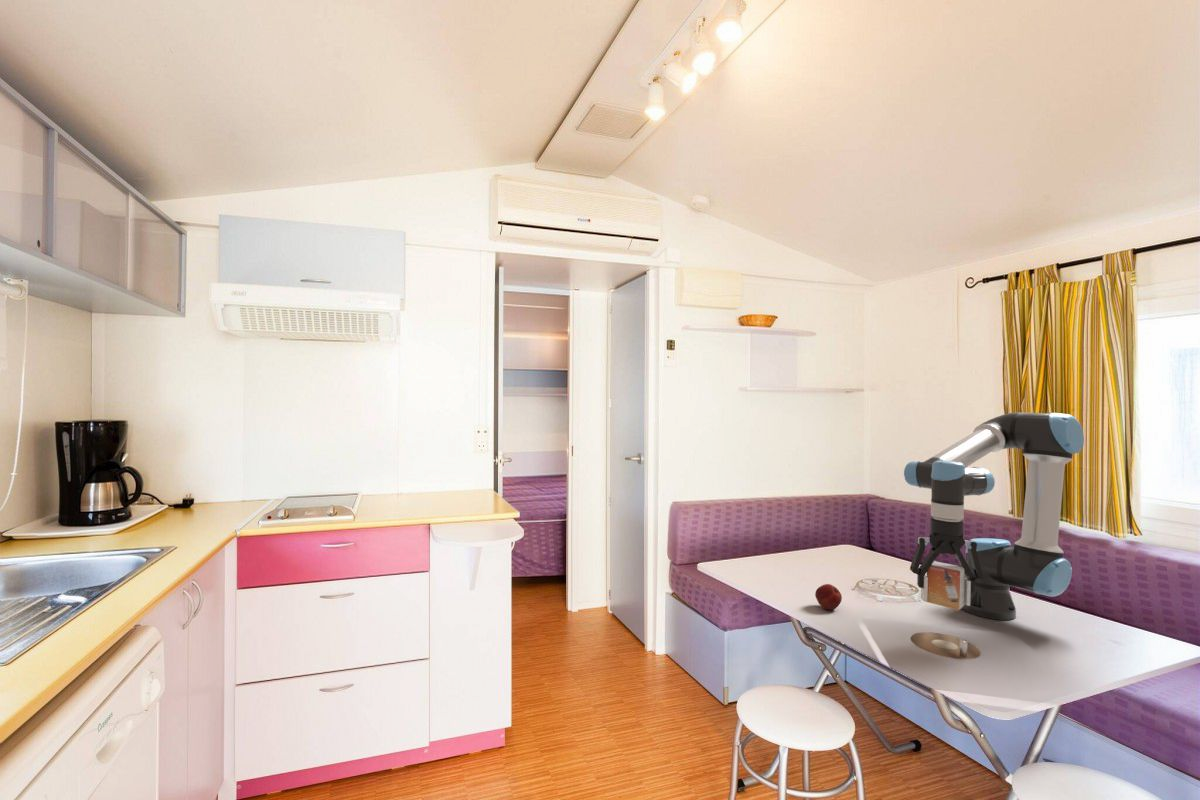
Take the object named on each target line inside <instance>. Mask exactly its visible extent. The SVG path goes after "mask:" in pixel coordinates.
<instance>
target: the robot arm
mask: <svg viewBox="0 0 1200 800" xmlns="http://www.w3.org/2000/svg"><path fill="white" fill-rule="evenodd" d="M1084 443H1085V434H1084V431H1083V428H1082V425H1081V423H1080V421H1079V420H1078V419H1077V418H1076V417H1075V416H1073V415H1071V414H1068V413H1058V412H1022V411H1020V412H1018V411H1015V412H1010V413H1006V414H1005V413H1004V414H1001V415H999V416H996V417H993V418H991V419H988V420H987V421H984V422H982V423H980V424H979V425H977V426H976V427H974V429H973V431H972V433H970V434H969V435H967V436H965V437H964V438H962V439H959V441H956V442H955V443H953V444H952V445H950V446H948V447H946V448H945V449H943V450H942V451H940V452H939V453H936V454H935V455H933V456H932V457H930V458H928V459H926V460H924V461H918V460H917V461H914V460H913V461H910V462H908V463H907V464H906V465H905V467H904V469H903V477H904V480H905V482H906V483H907V484H908V485H909V486H913V487H919V488H921V489H922V488H923V489H931V497H930V498H931V499H930V516H931V518H930V528H929V529H930V531H929V532H930V533H929V536H927V537H923V536H921V535H920V536H917V537H916V547H915V551H914V554H913V556H912V560H911V563H910V566H909V570H910V572H912V573H913V574H915V575H917V576H916V577H917V583H916V585H917V587H919V588H920V599H921V600H922V601H923V602H925V603H928V602H927V590H928V577H927V571H928V569H929V568H930V566H931V565H932V563H933V562H934V561H936V558H937V557H939V556H940V555H941V554H943V555H946V554H948V555H952V556H953V555H954V556H955V559H956V560H957V561H958V564H959V566H962V567H963V568H964V569H965V598H964V606H963V607H962V608H961V609H960V610H962V611H964V612H966V613H970V614H972V615H975V616H978V617H982V618H987V619H991V620H992V619H993V620H999V621H1000V620H1002V621H1003V620H1007V621H1010V620H1013V619H1016V617H1017V608H1016V605H1015V602H1014V600H1013V596H1012V594H1011V592H1010V591H1011V590H1010V587H1015V588H1017V589H1021V590H1025V591H1029V592H1031V593H1032V592H1033V593H1034V594H1036V595H1043V596H1047V597H1057V596H1060V595H1062V594H1063V593H1064V592H1065V591H1066V590H1067V589H1068V587H1069V584H1070V583H1071V579H1072V575H1073V568H1072V564H1071V562H1070V561H1069V560H1067V559H1066V558H1064V554H1065V553H1064V550H1062V548H1061V547H1060V546H1059V534H1060V533H1059V532H1060V523H1061V522H1060V521H1061V510H1062V500H1063V487H1064V479H1065V467H1066V464H1068V463H1070V462H1071V461H1073V454H1074V455H1075V454H1079V453H1080V452H1081V451H1082V450H1083V447H1084ZM1005 449H1006V450H1007V449H1016V450H1017V449H1018V450H1023V453H1022V456H1024V457H1025V459H1027V460H1028V463H1027V464H1028V465H1027V474H1026V475H1027V476H1026V484H1025V497H1024V504H1023V505H1024V506H1023V515H1022V527H1021V535H1020V536H1021V537H1020V539H1018V540H1016V541H1015V542H1014V544H1013V547H1012V544H1011V542H1010V540H1007V539H1001V538H989V537H988V538H987V537H985V538H983V537H982V538H980V537H977V538H972V539H969V540H967V539H965V538H964V522H963V520H964V519H965V516H964V515H965V514H964V513H965V511H964V509H965V497H966V496H981V495H986V494H988V493H990V492H992V491H993V489H994V487H995V483H996V482H995V477H994V475H993V474H992V473H991V471H989V470H988V469H986V468H983V467H976V466H973V467H969V466H971V465H972V464H973V463H975V462H977V461H979V460H980V459H982V458H983V457H985V456H987V455H988V454H990V453H998V452H1000V451H1002V450H1005ZM928 543H930V544H931V547H930V549H929V552H928V553H927V555H926V557H924V556H923V555H924V553H925V550H926V549H925V548H926V546H927V545H928ZM964 546H965V557H964V554H963V553H962V551H961V549H962V548H963V547H964ZM923 557H924V559H923ZM922 559H923V561H922Z"/></svg>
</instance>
